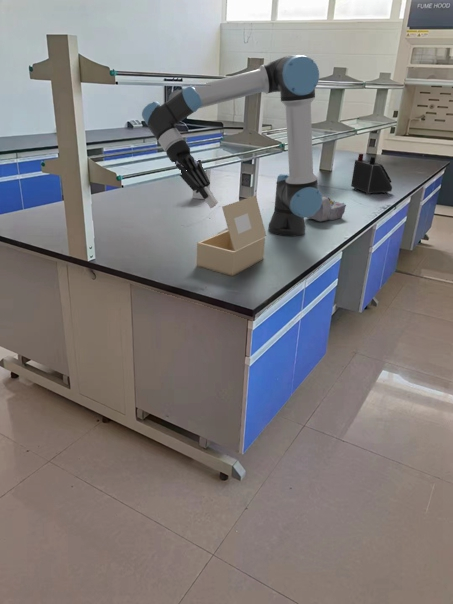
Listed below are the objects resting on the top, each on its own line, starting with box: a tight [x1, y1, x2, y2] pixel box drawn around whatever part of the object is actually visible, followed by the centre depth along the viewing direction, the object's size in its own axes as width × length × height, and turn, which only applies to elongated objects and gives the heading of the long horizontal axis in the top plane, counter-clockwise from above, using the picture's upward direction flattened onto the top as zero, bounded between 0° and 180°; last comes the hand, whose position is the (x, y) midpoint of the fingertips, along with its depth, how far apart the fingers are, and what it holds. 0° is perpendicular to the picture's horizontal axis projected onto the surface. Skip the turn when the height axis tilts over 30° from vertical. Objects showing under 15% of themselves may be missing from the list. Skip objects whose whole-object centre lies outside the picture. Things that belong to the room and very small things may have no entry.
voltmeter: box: [350, 153, 393, 195], centre depth 276 cm, size 16×16×20 cm
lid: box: [221, 195, 267, 251], centre depth 156 cm, size 20×14×1 cm
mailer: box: [196, 230, 266, 277], centre depth 163 cm, size 20×14×8 cm
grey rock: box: [305, 196, 347, 222], centre depth 220 cm, size 13×11×20 cm
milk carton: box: [192, 169, 211, 200], centre depth 242 cm, size 7×7×19 cm
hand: (214, 205), depth 160 cm, fingers closed
